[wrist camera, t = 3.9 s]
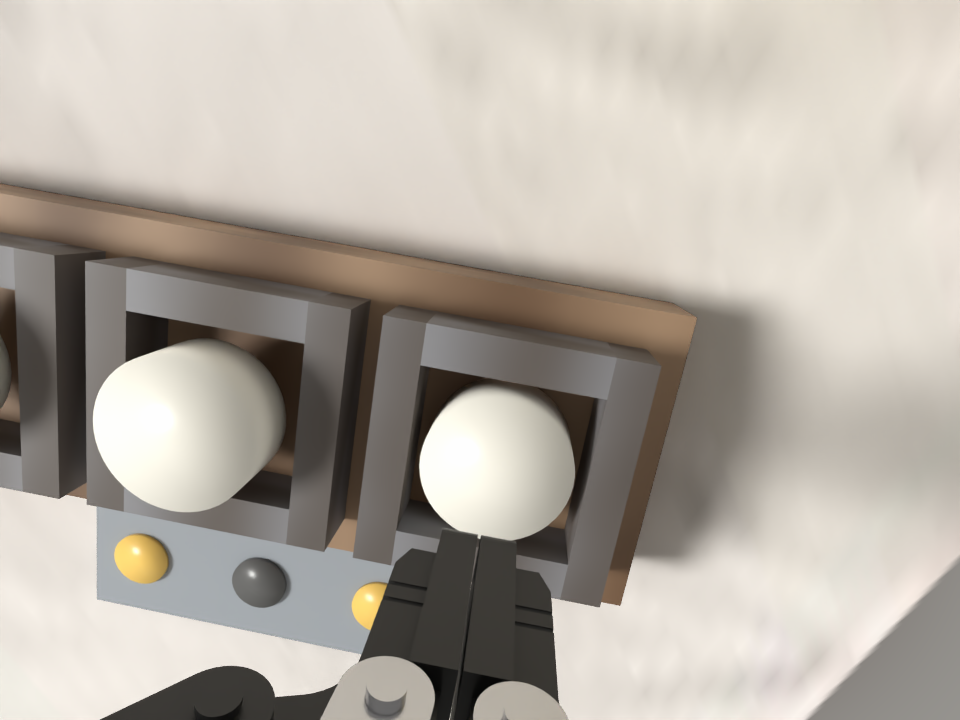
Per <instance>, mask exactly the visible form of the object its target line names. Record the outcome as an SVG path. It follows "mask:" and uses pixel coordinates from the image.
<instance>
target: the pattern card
mask: <svg viewBox="0 0 960 720" xmlns="http://www.w3.org/2000/svg"><path fill="white" fill-rule="evenodd" d="M393 568H394V566H391V565H386V564H381V563H376V562H371V561H366V560H361V559H356V558H353V552H350V551H345V550H340V549H335V548H330V547H327V548H326V550H325V551H324V552H321V551H316V550H311V549H306V548H301V547H296V546H291V545H286V544H281V543H276V542H271V541H267V540H262V539H257V538H252V537H247V536H242V535H237V534H232V533H227V532H222V531H217V530H212V529H207V528H202V527H197V526H192V525H187V524H182V523H177V522H172V521H167V520H162V519H157V518H152V517H147V516H142V515H137V514H132V513H127V512H122V511H117V510H112V509H107V508H102V507H97V599H98V600H103V601H108V602H113V603H117V604H122V605H127V606H132V607H137V608H142V609H146V610H151V611H156V612H161V613H166V614H170V615H175V616H180V617H185V618H190V619H194V620H199V621H204V622H209V623H214V624H218V625H223V626H228V627H233V628H238V629H243V630H247V631H252V632H257V633H262V634H267V635H271V636H276V637H281V638H286V639H291V640H295V641H300V642H305V643H310V644H315V645H319V646H324V647H329V648H334V649H339V650H343V651H348V652H353V653H358V654H362V652H363V649H364V647H365V644H366V641H367V638H368V636H369V633H370V630H371V627H372V625H373V622H374V619H375V617H376V614H377V611H378V608H379V606H380V603H381V600H382V599H383V595H384V592H385V589H386V587H387V584H388V582H389V578H390V576H391V573H392V570H393Z"/></svg>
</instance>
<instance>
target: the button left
mask: <svg viewBox="0 0 960 720" xmlns="http://www.w3.org/2000/svg"><path fill="white" fill-rule="evenodd" d="M10 386H11V363H10V359H9V354H8V351H7V349H6V346H5V343H4V341H3V339H2V337H1V335H0V409H1V408H2V406H3V405H4V403H5V401H6V399H7V397H8V394H9V391H10Z"/></svg>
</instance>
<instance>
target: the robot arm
mask: <svg viewBox="0 0 960 720" xmlns="http://www.w3.org/2000/svg"><path fill="white" fill-rule="evenodd" d="M477 539H478V534H473V533H468V532H463V531H458V530H452V529H447V528H443V529H442V533H441V537H440V541H439V545H438V549H437V553H434V552H429V551H424V550H419V549H414V548H411V549H410V550H409V551H408V552H407V553H405V554H404V555H403V556H402V557H401V558H399V559H398V560H397V561H396V562H395V565H394V568H393V570H392V573H391V576H390V578H389V582H388V584H387V587H386V589H385V592H384V595H383V599H382V600H381V603H380V606H379V608H378V611H377V614H376V617H375V619H374V622H373V625H372V627H371V630H370V633H369V636H368V638H367V641H366V644H365V647H364V649H363V652H362V655H361V657H360V660H359V662H358V663H357V664H355V665H353V666H352V667H351V668H350V669H348V670H347V671H346V672H345V674H344V675H343V676H342V678H341V679H340V681H339V683H338V684H336V685H335V686H333V687H331V688H328V689H326V690H324V691H320V692H316V693H312V694H305V695H295V696H284V697H275V694H274V691H273V688H272V686H271V684H270V683H269V681H268V680H267V679H266V678H265V677H264V676H263V675H261V674H260V673H258V672H256V671H254V670H252V669H249V668H245V667H239V666H222V667H216V668H212V669H208V670H205V671H202V672H200V673H197V674H195V675H193V676H191V677H189V678H187V679H185V680H182V681H180V682H178V683H176V684H174V685H172V686H170V687H168V688H166V689H164V690H161V691H159V692H157V693H155V694H153V695H151V696H149V697H147V698H145V699H143V700H140V701H138V702H136V703H134V704H132V705H130V706H128V707H126V708H124V709H122V710H119V711H117V712H115V713H113V714H111V715H109V716H107V717H105V718H103V719H100V720H449V718H450V720H568V718H567V715H566V713H565V712H564V710H563V709H562V707H561V706H560V705H559V700H558V687H557V673H556V659H555V645H554V633H553V616H552V602H551V591H550V590H549V588H548V586H547V585H546V583H545V582H544V580H543V578H542V577H541V575H540V573H538V572H533V571H528V570H523V569H518V568H516V552H517V543H516V542H515V541H510V540H505V539H500V538H495V537H489V536H484V535H481V537H480V542H479V547H478V552H477V557H476V563H475V568H474V573H473V567H474V560H475V553H476V546H477ZM472 574H473V578H472ZM471 581H472V583H471ZM470 588H471V589H470ZM451 707H452V709H451ZM450 713H451V716H450Z"/></svg>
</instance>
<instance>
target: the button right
mask: <svg viewBox="0 0 960 720" xmlns="http://www.w3.org/2000/svg"><path fill="white" fill-rule="evenodd" d="M419 469H420V479H421V484H422V487H423V490H424V493H425V495H426V497H427V499H428V501H429V503H430V504H431V506H432V507H433V509H434V510H435V511H436V512H437V513H438V515H439V516H440V517H441V518H442V519H443V520H445V521H446V522H447V523H448V524H449V525H451V526H452V527H454V528H455V529H457V530H459V531H463V532H468V533H473V534H478V538H479V539H480V537H481V535H484V536H489V537H495V538H500V539H505V540H516V539H521V538H524V537H527V536H530V535H532V534H534V533H536V532H538V531H540V530H542V529H543V528H545V527H546V526H548V525H549V524H550V523H551V522H552V521H553V520H555V519H556V518H557V516H558V515H559V514H560V513H561V512H562V510H563V509H564V507H565V506H566V504H567V502H568V500H569V498H570V496H571V493H572V489H573V486H574V479H575V464H574V457H573V451H572V446H571V440H570V435H569V430H568V426H567V423H566V421H565V418H564V416H563V414H562V413H561V411H560V409H559V408H558V406H557V405H556V404H555V403H554V402H553V400H552V399H551V398H549V397H548V396H547V395H546V394H545V393H544V392H542V391H541V390H540V389H538V388H536V387H534V386H529V385H524V384H518V383H513V382H507V381H502V380H497V379H491V378H486V379H482V380H478V381H475V382H472V383H470V384H467V385H466V386H464V387H462V388H460V389H459V390H458V391H456V392H455V393H454V394H452V395H451V396H450V397H449V398H448V399H447V400H446V402H445V403H444V404H443V406H442V407H441V408H440V410H439V412H438V414H437V416H436V418H435V420H434V422H433V424H432V426H431V428H430V430H429V433H428V435H427V437H426V439H425V442H424V444H423V447H422V451H421V455H420V464H419Z"/></svg>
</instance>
